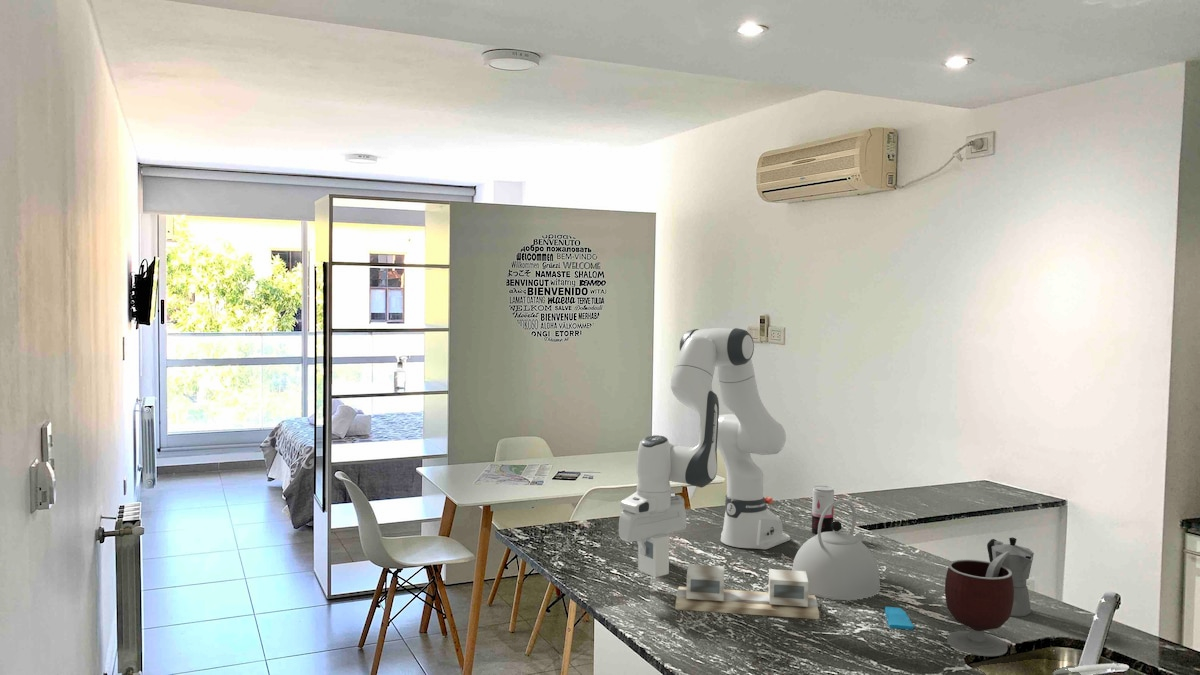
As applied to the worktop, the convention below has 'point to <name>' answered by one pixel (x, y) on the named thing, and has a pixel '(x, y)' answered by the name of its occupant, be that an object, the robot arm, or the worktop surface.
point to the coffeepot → (1015, 571)
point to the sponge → (898, 618)
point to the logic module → (655, 556)
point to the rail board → (747, 594)
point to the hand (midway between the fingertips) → (653, 552)
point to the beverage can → (822, 508)
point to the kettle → (838, 563)
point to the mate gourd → (979, 603)
